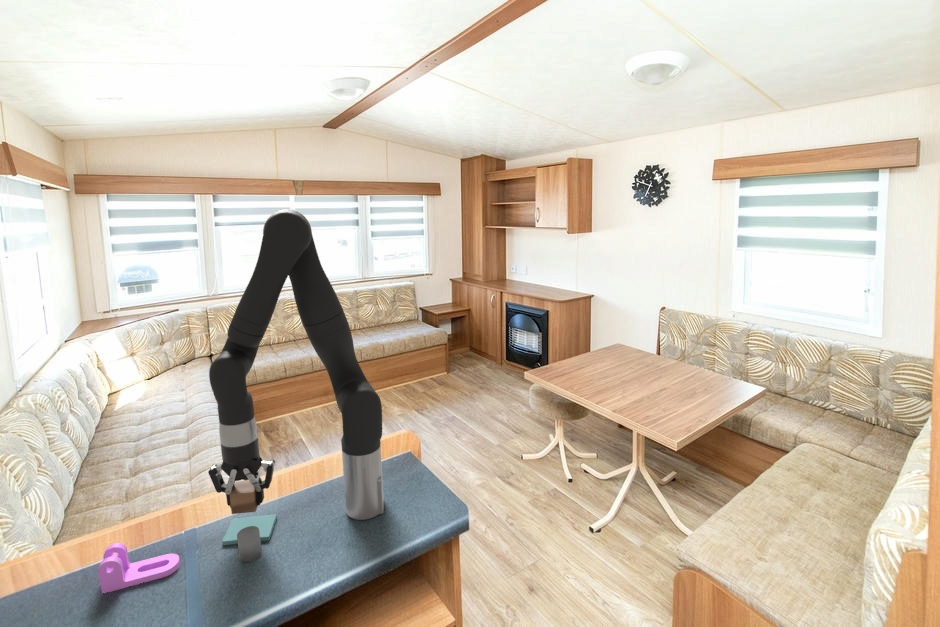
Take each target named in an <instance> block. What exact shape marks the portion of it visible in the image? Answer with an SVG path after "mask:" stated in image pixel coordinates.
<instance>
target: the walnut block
mask: <svg viewBox="0 0 940 627" xmlns="http://www.w3.org/2000/svg"><path fill="white" fill-rule="evenodd" d="M255 492H256V490H255V488H254V486H253V485H251V483H250V481H249V480H239V481H235V484H234V487H233V489H232V490H231V492H230V503H231V508H230V510H231V514H232V515H234V514H235V515H236V514H247V513H256V511H257V508H258V507H259V506H257V504H256V494H255Z"/></svg>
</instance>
